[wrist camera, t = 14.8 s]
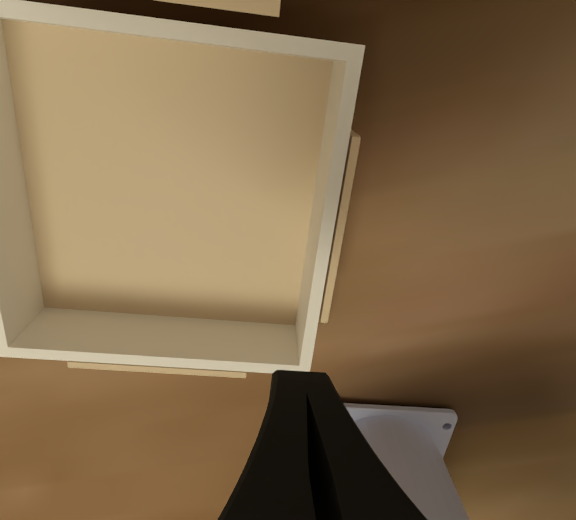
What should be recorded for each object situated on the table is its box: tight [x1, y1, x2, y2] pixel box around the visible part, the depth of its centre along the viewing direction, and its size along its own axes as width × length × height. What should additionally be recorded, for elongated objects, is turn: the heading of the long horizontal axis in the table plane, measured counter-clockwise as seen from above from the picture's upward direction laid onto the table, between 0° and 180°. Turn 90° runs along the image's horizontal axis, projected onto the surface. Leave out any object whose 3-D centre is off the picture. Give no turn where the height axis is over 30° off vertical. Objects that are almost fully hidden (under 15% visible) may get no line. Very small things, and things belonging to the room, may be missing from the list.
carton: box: [0, 0, 365, 378], centre depth 17 cm, size 13×13×4 cm
